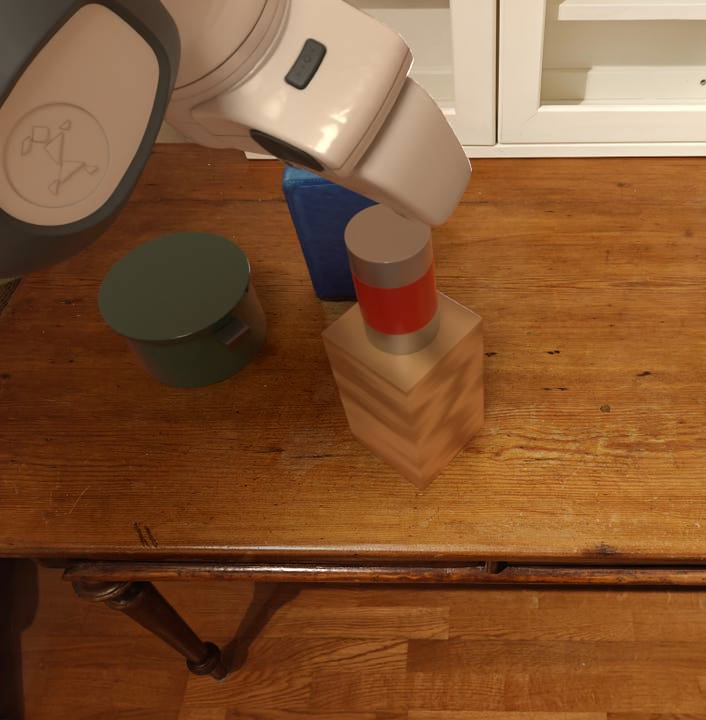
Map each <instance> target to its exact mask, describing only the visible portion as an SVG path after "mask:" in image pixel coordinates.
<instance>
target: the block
mask: <svg viewBox="0 0 706 720" xmlns="http://www.w3.org/2000/svg"><path fill="white" fill-rule="evenodd" d="M437 298H438V315H439V329H438V332H437V334H436V336H435V338H434V339H433V341H432V342H431V343H430V344H429V345H427V346H426V347H424V348H423V349H421V350H419V351H417V352H414V353H410V354H404V355H396V354H389V353H386V352H383V351H381V350H379V349H377V348H376V347H375V346H373V345H372V343H371V342H370V341H369V340H368V338H367V335H366V332H365V327H364V323H363V318H362V316H361V312H360V308H359V303H358V301H357V302H356V303H355V304H354V305H353V306H351V307H350V308H349V309H347V310H346V311H345V312H344V313H343V314H342V315H341V316H340V317H338V318H337V319H335V320H334V322H333V323H332V324H330V325H329V326H328V327H326V328H325V329H324V330H323V331H321V333H320V335H321V339H322V343H323V345H324V348H325V353H326V355H327V358H328V362H329V364H330V368H331V371H332V374H333V378H334V380H335V384H336V388H337V390H338V394H339V397H340V400H341V403H342V407H343V410H344V413H345V416H346V420H347V422H348V426H349V430H350V432H351V436H352V438H353V440H355V441H356V442H357V443H358V444H360V445H361V446H362V447H364V448H365V449H366V450H368V451H369V452H370V453H372V454H373V455H375V457H377V458H378V459H379V460H381V461H382V462H384V463H385V464H387V465H388V466H389V467H390V468H391V469H392V470H394V471H395V472H397V473H398V474H400V475H401V476H402V477H404V478H405V479H406V480H408V481H409V482H410V483H412V484H413V485H414V486H415V487H417V488H418V489H419V490H421V491H423V492H424V491H425V490H426V489H427V488H428V487H429V486H430V485H431V484H432V482H433V481H435V479H436V478H438V476H439V475H440V474H441V473H442V472H443V470H445V469H446V468H447V466H448V465H449V464H450V463H451V462H452V461H453V459H455V458H456V456H457V455H458V454H459V453H460V452H461V451H462V450H463V449H464V448H465V447H466V445H468V443H469V442H470V441H471V440H472V439H473V438H474V437H475V436H476V435H477V433H478V432H479V431H480V430H481V429H482V428H483V427H484V426H485V386H484V385H485V384H484V383H485V380H484V377H485V376H484V375H485V374H484V373H485V371H484V318H483V317H482V316H480V315H478V314H477V313H475V312H474V311H472V310H470V308H469V309H468V308H467V307H465V306H463V305H462V304H460V303H459V302H457V301H456V300H454V299H452V298H450V297H449V296H446V295H445V294H444V293H442V292H441V291H438V290H437Z"/></svg>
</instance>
